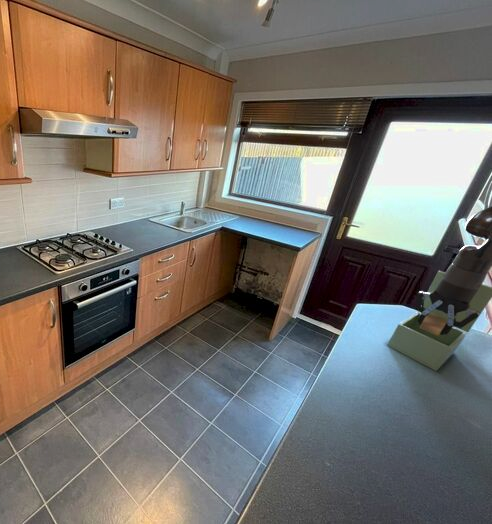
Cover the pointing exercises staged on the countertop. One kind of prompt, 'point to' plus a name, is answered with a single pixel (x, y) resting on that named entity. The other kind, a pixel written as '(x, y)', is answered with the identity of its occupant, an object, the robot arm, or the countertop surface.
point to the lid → (475, 304)
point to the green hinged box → (425, 342)
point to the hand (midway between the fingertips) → (431, 328)
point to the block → (433, 324)
